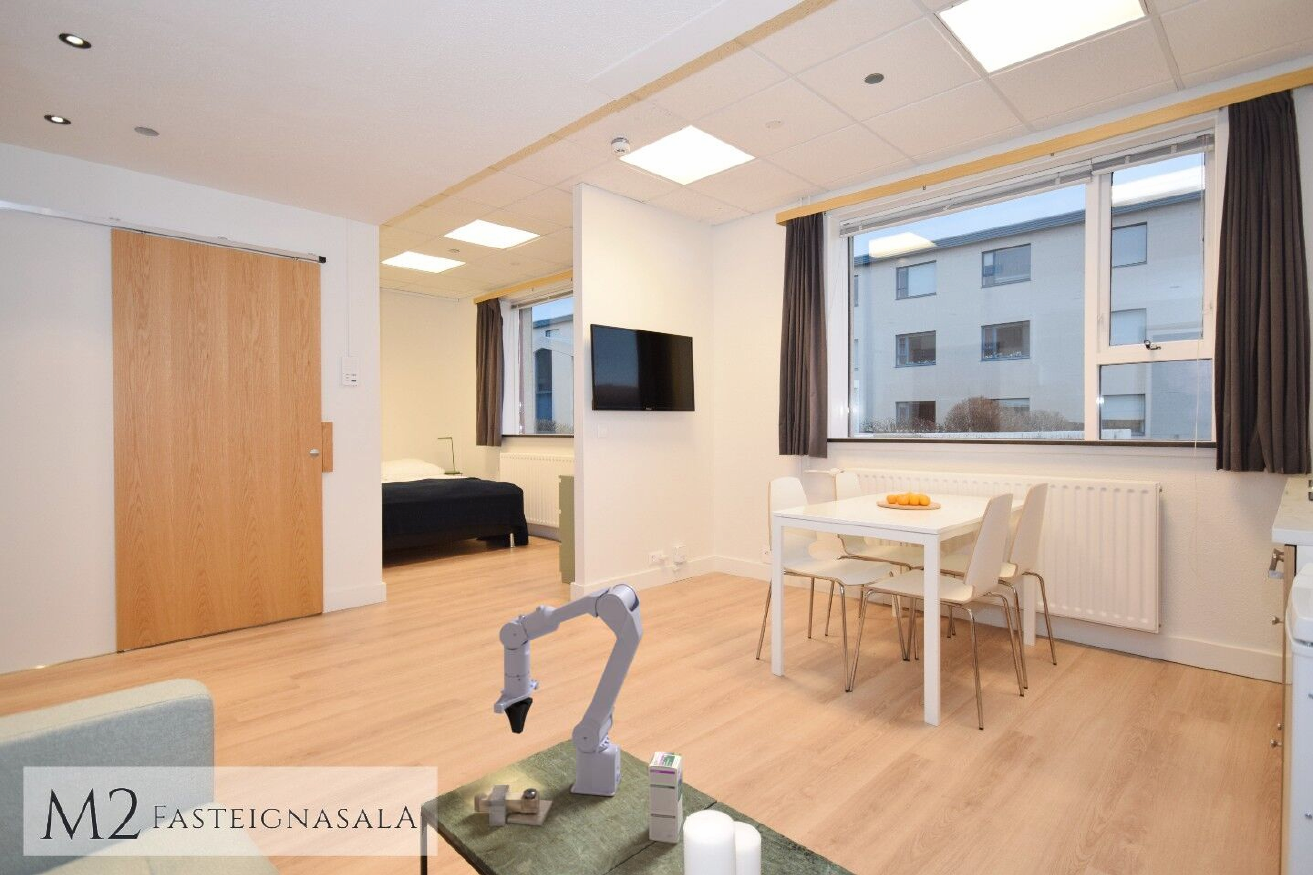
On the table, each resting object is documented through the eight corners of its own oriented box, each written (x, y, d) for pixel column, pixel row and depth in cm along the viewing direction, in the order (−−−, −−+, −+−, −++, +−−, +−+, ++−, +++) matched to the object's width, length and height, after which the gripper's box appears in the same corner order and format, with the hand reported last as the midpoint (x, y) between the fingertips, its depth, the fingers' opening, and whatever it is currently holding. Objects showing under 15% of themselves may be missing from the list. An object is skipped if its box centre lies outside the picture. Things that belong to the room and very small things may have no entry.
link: (539, 803, 133) (539, 791, 133) (537, 812, 130) (536, 800, 130) (476, 803, 133) (476, 791, 132) (472, 813, 129) (472, 800, 129)
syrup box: (678, 844, 122) (678, 768, 121) (647, 840, 123) (647, 764, 122) (683, 825, 127) (683, 753, 127) (654, 822, 128) (654, 749, 128)
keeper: (509, 809, 133) (509, 784, 132) (504, 825, 127) (504, 800, 127) (494, 809, 132) (494, 785, 132) (489, 826, 127) (489, 800, 127)
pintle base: (552, 804, 134) (552, 783, 134) (541, 825, 127) (541, 803, 127) (520, 801, 135) (519, 780, 135) (507, 822, 128) (507, 800, 128)
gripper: (520, 658, 154) (521, 715, 154) (482, 681, 140) (482, 743, 141) (546, 662, 151) (546, 720, 151) (509, 686, 138) (509, 749, 138)
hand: (517, 731), depth 146 cm, fingers closed
